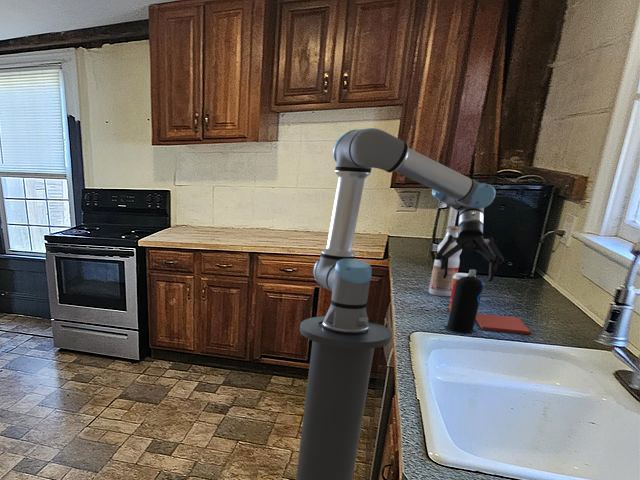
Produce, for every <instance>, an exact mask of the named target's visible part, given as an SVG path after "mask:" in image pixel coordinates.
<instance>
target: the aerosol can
mask: <svg viewBox="0 0 640 480" xmlns="http://www.w3.org/2000/svg"><path fill="white" fill-rule="evenodd" d="M476 275H477V270H476V269H469V271H468V276H467V277H462V278H460V279H459V280H458V281H456V287H455V292H454V297H453V301H452V306H451V311H449V316H448V321H447V325H445V328H446V329H447V330H449V331H450V332H456V333H460V334H472V333H473V332H474V331H475V329H474V328H475V323H476V321H477V320H476V315H477V314H478V311H479V306H480V303H481V298H482V294H483V289H484V287H485V284H486V283H484V282H483V280H482V279H480V278H479V277H477V276H476ZM475 276H476V277H475Z"/></svg>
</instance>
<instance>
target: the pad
mask: <svg viewBox="0 0 640 480" xmlns="http://www.w3.org/2000/svg"><path fill="white" fill-rule="evenodd" d="M475 321H476V322H477V324H478V325H479V327H480V329H481V330H484V331H493V332H503V333H512V334H520V335H530V336H531V334H532V330H531V329H530V328H529V327H528V326H527V325H526V324H525V323H524V322H523V321H522V320H521V317H517V316H505V315H498V314H497V315H496V314H487V313H477V315H476V320H475Z"/></svg>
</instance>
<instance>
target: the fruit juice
mask: <svg viewBox="0 0 640 480" xmlns="http://www.w3.org/2000/svg"><path fill="white" fill-rule="evenodd" d="M449 235H452V236H453V237H456V238H457V237H458V226H456V225H447V227H446V233H445V236H444V237H443V239H442V240H441V241H440V243H439V244H437V248H436V252H437V253H438V252H439V251H440V249H441V248H442V247H443V245H444V244H445V243H446V242H447V240H448V237H449ZM456 245H457V243H456V241H455V242H453V243H452V244H450V246H449V247H448V248H447V250H446V251H445V252H444V253H443V255H444V254H445V253H447V252H448V251H449V250H451V249H452V248H453V247H455V246H456ZM462 251H463V249H461V250H460V251H458V252H456V253H455V254H454V255H452V256H451V257H450V258H448V271H447V276H446V278H443V272H444V269H441V268H440V267H441V262H440V260H436V259H435V258H434V260H433V261H434V262H433V266H432V267H433V268H432V272H431V277H430V280H429V281H430V282H429V286H428V294H430V295H431V296H432V295H433V296H438V297H451V291H452V284H453V276H454V274H455V273H459V268H460V263H461V260H460V259H461V258H460V255H461V254H462ZM437 253H436V254H437Z"/></svg>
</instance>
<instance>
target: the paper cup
mask: <svg viewBox="0 0 640 480" xmlns="http://www.w3.org/2000/svg"><path fill="white" fill-rule="evenodd" d="M468 274H469V272H468V273H466V272H458V273H455V274H454V276H453V284H452V291H451V296H450V297H449V298H450V299H449V304H448V305H449V306H448V312H450V311H451V306H452V301H453V297H454V292H455V287H456V281H458V280H459V279H460V278H462V277H467V276H468ZM475 277H476V278H477V276H476V275H475Z"/></svg>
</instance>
